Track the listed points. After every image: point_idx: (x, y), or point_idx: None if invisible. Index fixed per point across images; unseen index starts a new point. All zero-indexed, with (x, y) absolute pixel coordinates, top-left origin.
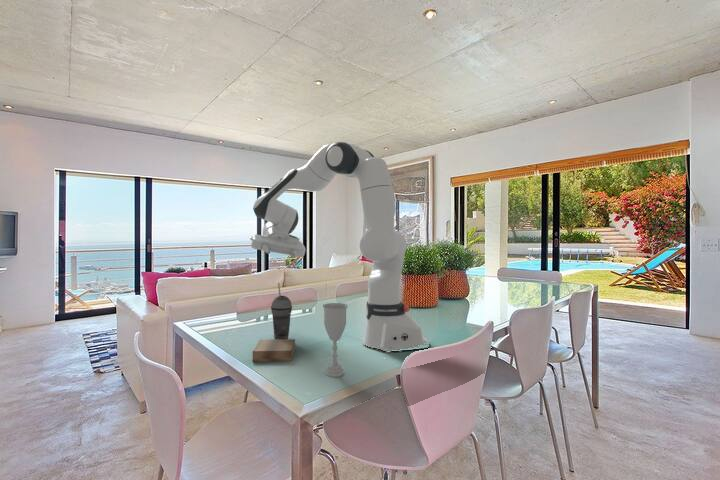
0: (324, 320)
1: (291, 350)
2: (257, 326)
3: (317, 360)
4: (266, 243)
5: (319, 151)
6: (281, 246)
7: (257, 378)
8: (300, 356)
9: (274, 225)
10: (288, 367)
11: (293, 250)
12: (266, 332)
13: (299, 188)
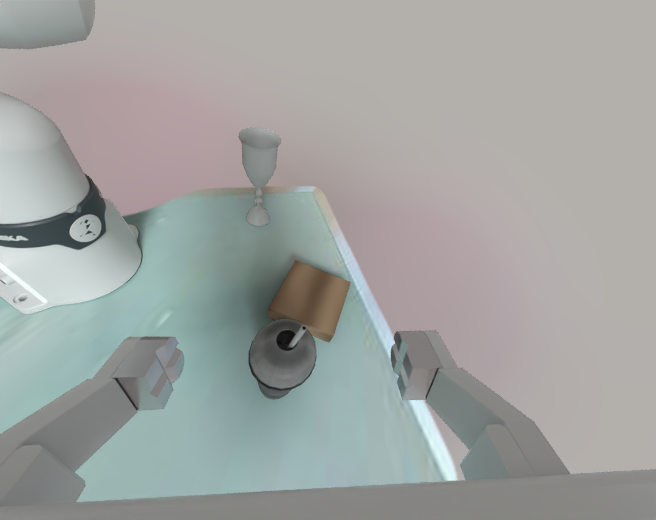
0: (275, 163)
1: (294, 262)
2: None
3: (257, 255)
4: (521, 478)
5: None
6: (247, 495)
7: (343, 244)
8: (274, 278)
9: None
10: (303, 253)
11: (21, 501)
12: None
13: None
